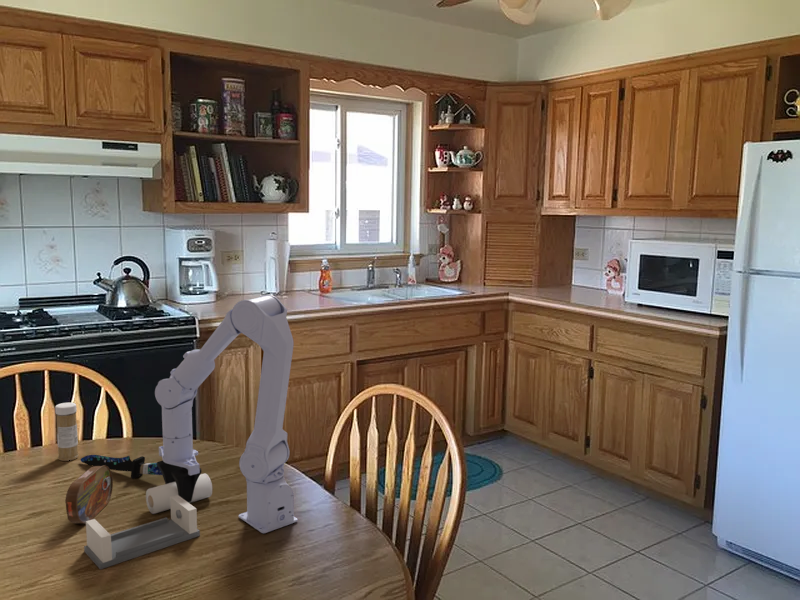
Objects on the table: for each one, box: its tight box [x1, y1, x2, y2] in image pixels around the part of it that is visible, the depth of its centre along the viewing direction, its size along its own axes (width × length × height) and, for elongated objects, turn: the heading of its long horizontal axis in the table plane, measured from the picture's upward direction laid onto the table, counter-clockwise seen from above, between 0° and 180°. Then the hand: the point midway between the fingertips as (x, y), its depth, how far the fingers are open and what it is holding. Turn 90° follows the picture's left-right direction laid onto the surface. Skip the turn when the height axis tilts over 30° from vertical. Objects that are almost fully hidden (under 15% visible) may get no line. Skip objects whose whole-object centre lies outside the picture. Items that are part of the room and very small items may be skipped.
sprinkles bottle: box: [54, 401, 80, 462], centre depth 163 cm, size 5×5×13 cm
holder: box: [83, 495, 201, 570], centre depth 123 cm, size 8×18×6 cm, turn 133°
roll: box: [145, 472, 213, 515], centre depth 139 cm, size 5×12×5 cm, turn 133°
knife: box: [80, 454, 163, 480], centre depth 154 cm, size 31×3×4 cm, turn 61°
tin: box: [64, 465, 114, 525], centre depth 134 cm, size 15×3×8 cm, turn 179°
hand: (179, 497), depth 139 cm, fingers closed on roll, 5 cm apart
